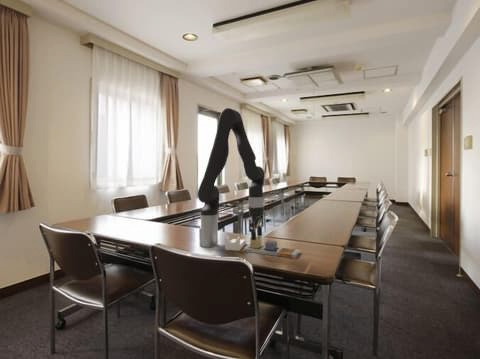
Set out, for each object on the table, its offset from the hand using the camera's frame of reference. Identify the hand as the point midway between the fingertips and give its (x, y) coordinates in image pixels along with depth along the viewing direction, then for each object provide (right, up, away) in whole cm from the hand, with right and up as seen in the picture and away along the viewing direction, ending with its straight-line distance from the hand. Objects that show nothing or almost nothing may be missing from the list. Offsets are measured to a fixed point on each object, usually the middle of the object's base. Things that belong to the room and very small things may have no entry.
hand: (256, 237), depth 139 cm
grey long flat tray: (+7, -7, -3) cm, 10 cm away
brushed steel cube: (+7, -6, -3) cm, 10 cm away
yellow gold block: (0, -6, 0) cm, 6 cm away
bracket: (-11, -8, +7) cm, 15 cm away
